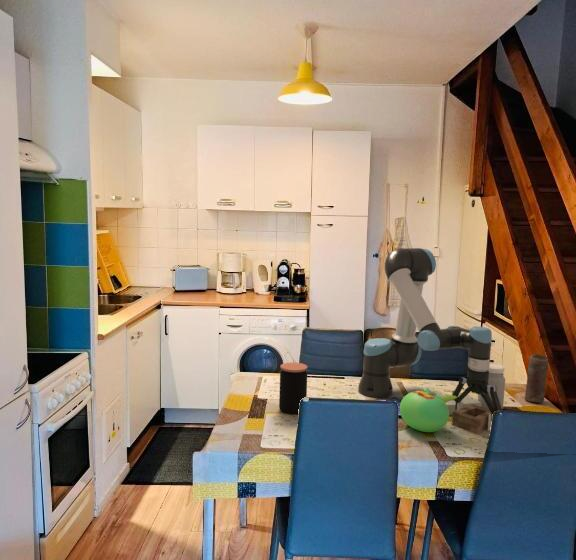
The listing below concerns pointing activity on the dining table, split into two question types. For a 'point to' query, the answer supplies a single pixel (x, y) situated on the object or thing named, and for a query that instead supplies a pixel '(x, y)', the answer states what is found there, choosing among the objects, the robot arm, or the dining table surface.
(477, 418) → the brown hollow cube
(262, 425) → the dining table surface
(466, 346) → the robot arm
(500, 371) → the jar
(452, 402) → the panel
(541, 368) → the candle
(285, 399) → the coffee jar
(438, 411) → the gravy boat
